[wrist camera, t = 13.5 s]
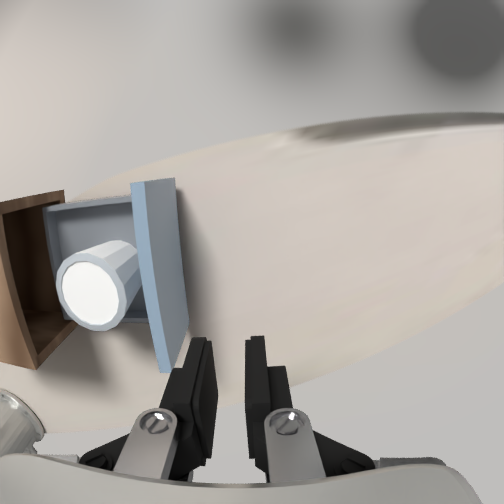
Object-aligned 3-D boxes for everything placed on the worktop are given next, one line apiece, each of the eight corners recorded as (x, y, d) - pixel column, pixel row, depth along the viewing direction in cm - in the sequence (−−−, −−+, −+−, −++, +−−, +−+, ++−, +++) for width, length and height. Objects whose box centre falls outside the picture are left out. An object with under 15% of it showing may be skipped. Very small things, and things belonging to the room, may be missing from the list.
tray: (76, 320, 31) (38, 359, 22) (53, 193, 27) (0, 204, 19) (189, 322, 31) (172, 373, 22) (174, 177, 27) (144, 181, 19)
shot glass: (162, 256, 28) (138, 282, 22) (136, 311, 30) (111, 346, 23) (104, 221, 27) (67, 236, 21) (82, 277, 29) (48, 303, 22)
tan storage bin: (10, 311, 32) (-40, 350, 21) (-12, 205, 28) (-74, 222, 17) (85, 317, 32) (36, 370, 21) (63, 189, 28) (-8, 204, 17)
